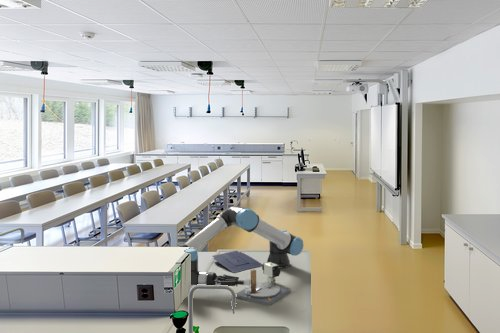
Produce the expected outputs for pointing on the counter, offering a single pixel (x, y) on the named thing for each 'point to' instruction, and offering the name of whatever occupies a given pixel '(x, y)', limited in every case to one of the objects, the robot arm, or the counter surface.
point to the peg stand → (261, 288)
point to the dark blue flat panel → (236, 261)
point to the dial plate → (263, 300)
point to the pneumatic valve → (271, 271)
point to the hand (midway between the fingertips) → (250, 282)
